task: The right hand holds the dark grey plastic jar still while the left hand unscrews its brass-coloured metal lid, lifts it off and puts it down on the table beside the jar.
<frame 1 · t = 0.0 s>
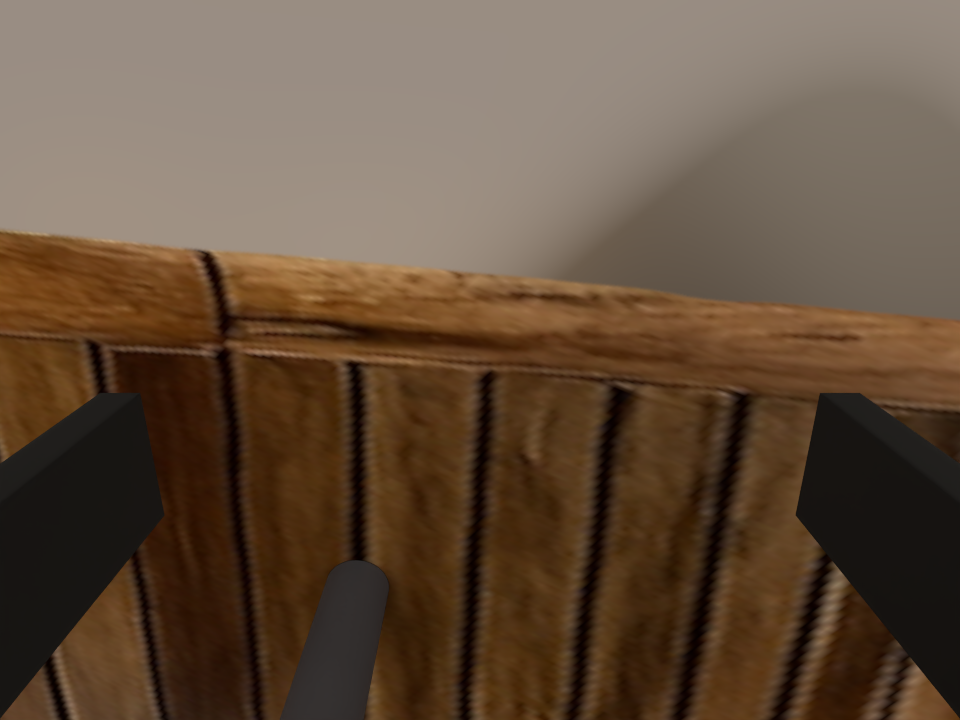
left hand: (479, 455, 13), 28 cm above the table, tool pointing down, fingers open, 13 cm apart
jar: (357, 585, 48), on the table
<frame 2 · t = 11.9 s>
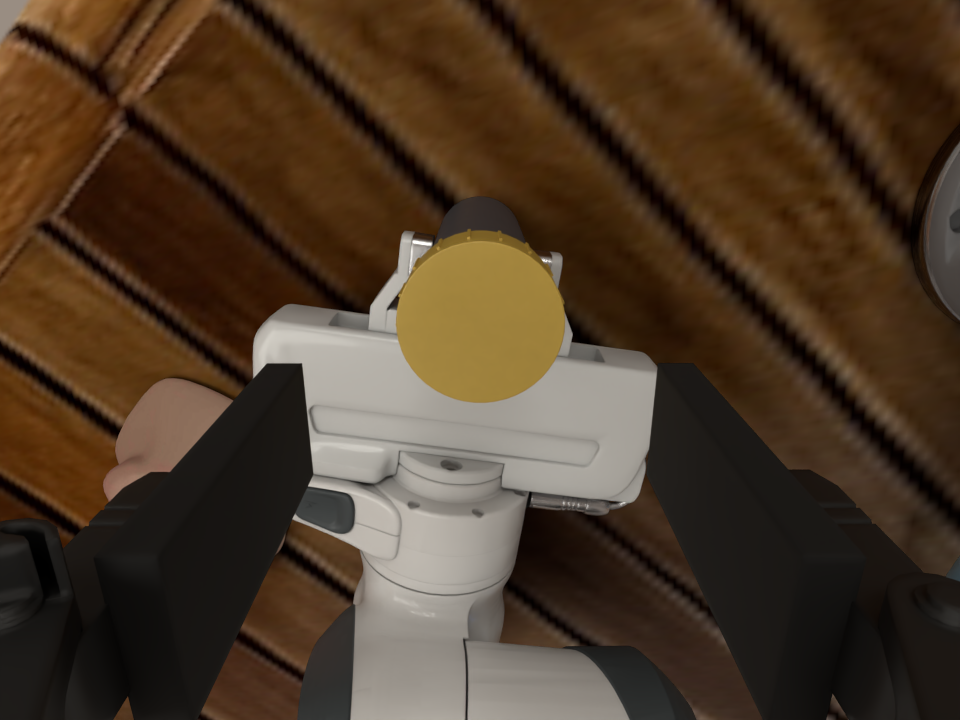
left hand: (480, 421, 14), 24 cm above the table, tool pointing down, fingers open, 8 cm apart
right hand: (482, 243, 30), fingers closed on jar, 5 cm apart
jar: (480, 238, 37), on the table, touching right hand
lid: (480, 322, 21), point 17 cm above the table, screwed on, not yet turned
anatomical model: (207, 475, 42), on the table
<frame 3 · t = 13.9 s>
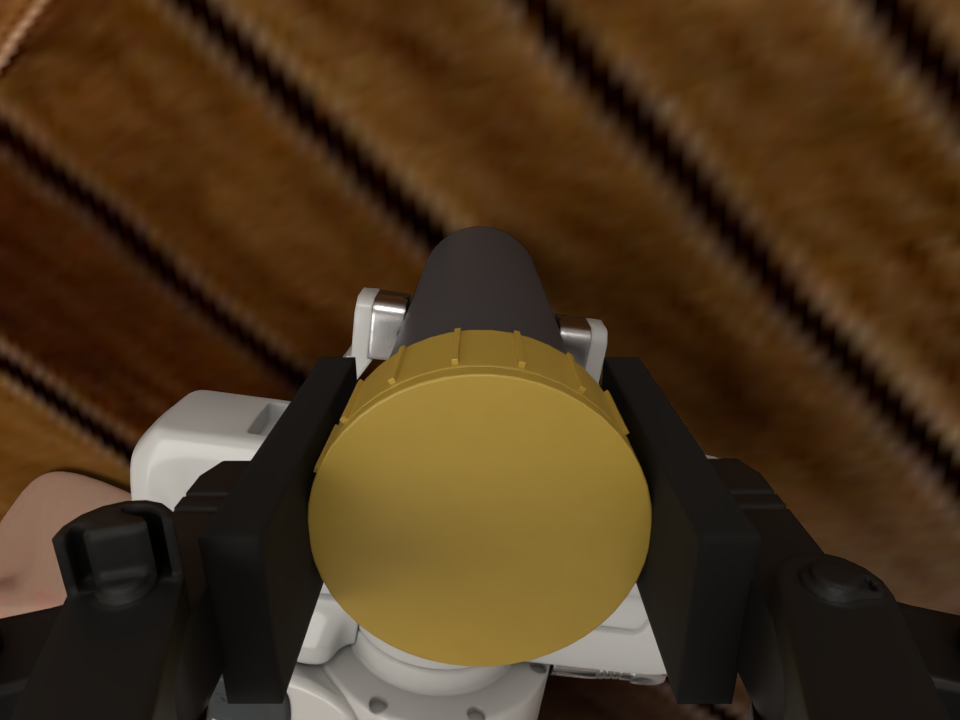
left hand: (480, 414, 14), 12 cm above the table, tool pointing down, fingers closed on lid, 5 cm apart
jar: (479, 284, 26), on the table, touching right hand
lid: (479, 521, 10), point 17 cm above the table, screwed on, not yet turned, touching left hand
anatomical model: (115, 592, 31), on the table
when the left hand's fingers open (13 cm above the table, at t = 15.4 s): lid stays where it is, point 17 cm above the table.
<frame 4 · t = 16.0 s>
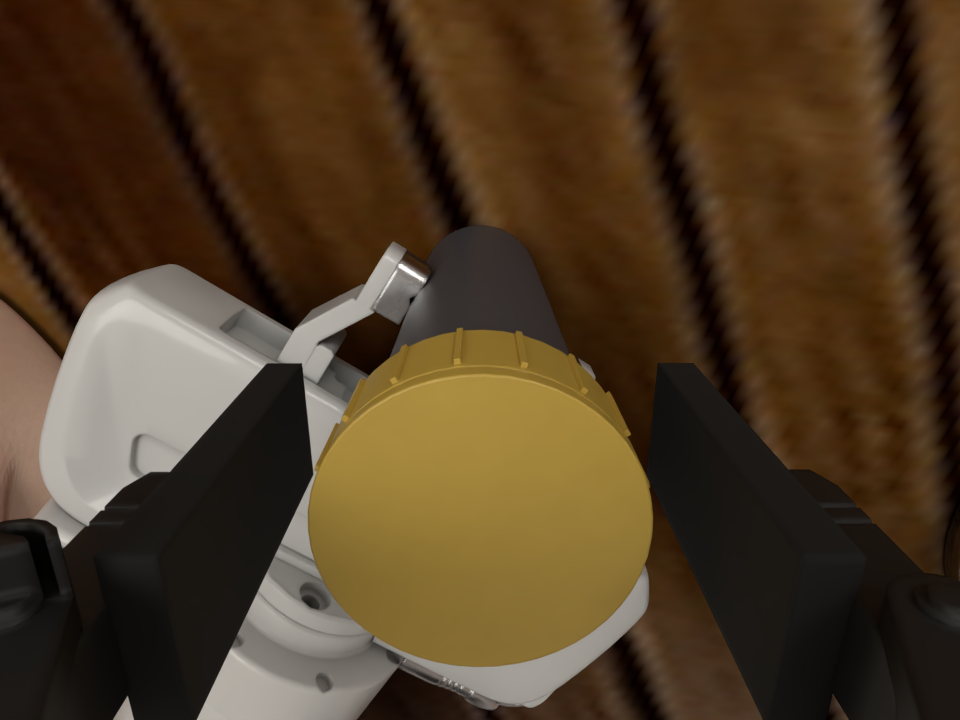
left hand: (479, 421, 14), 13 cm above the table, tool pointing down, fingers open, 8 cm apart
right hand: (494, 308, 20), fingers closed on jar, 5 cm apart
jar: (480, 282, 26), on the table, touching right hand
lid: (480, 522, 10), point 17 cm above the table, turned 88° so far, risen 0.2 cm, still on its thread
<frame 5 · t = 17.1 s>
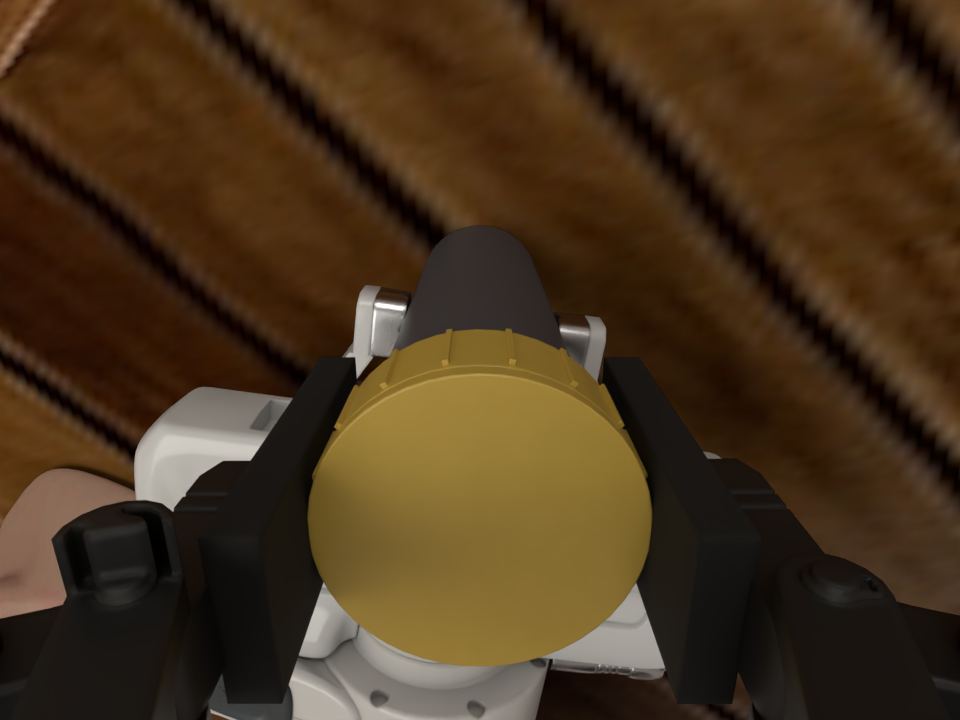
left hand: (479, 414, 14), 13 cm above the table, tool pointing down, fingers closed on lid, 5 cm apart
jar: (479, 282, 26), on the table, touching right hand
lid: (479, 521, 10), point 17 cm above the table, turned 88° so far, risen 0.2 cm, still on its thread, touching left hand
anatomical model: (117, 589, 32), on the table
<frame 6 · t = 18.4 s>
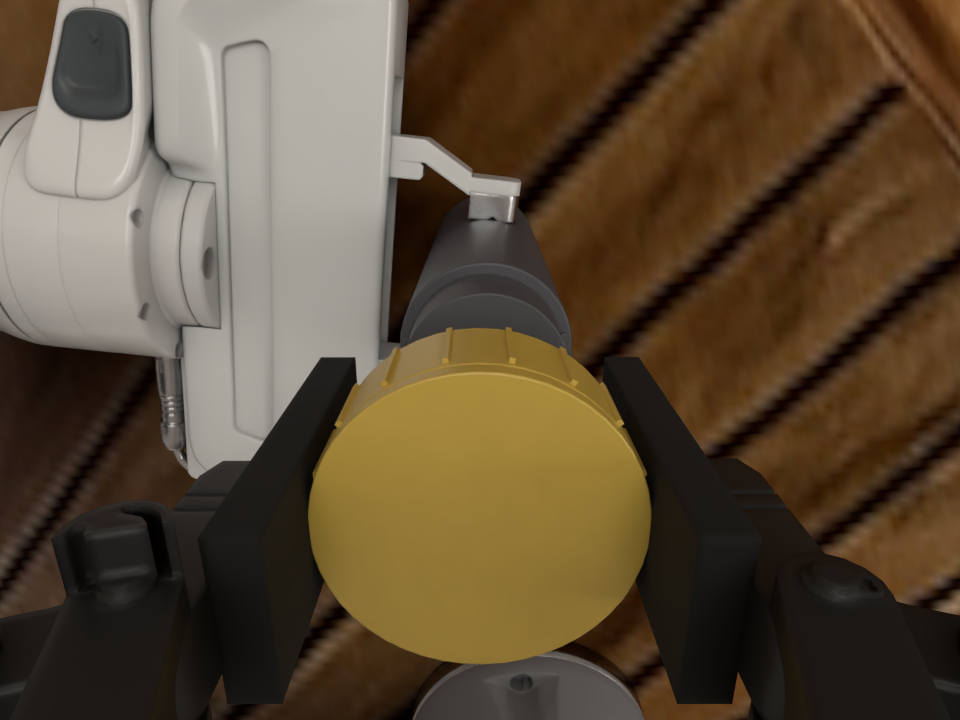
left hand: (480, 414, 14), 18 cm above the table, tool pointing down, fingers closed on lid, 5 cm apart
right hand: (508, 278, 25), fingers closed on jar, 5 cm apart
jar: (484, 244, 31), on the table, touching right hand
lid: (479, 519, 10), point 22 cm above the table, off its thread, touching left hand
when the left hand's fingers open (0 cm above the table, at t = 24.5 s): lid drops 2 cm, point 2 cm above the table.
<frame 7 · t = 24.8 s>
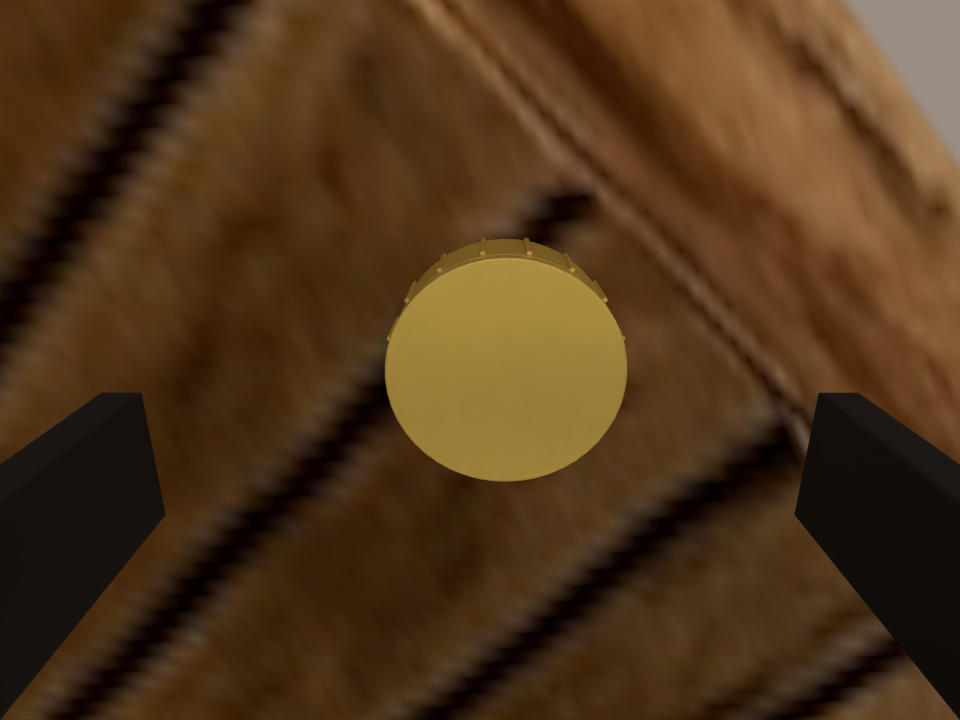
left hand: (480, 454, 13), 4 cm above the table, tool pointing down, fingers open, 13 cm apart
lid: (505, 371, 15), point 2 cm above the table, off its thread
when the right hand's fingers open (7 cm above the table, at t = 25.1 s): jar stays where it is, on the table.
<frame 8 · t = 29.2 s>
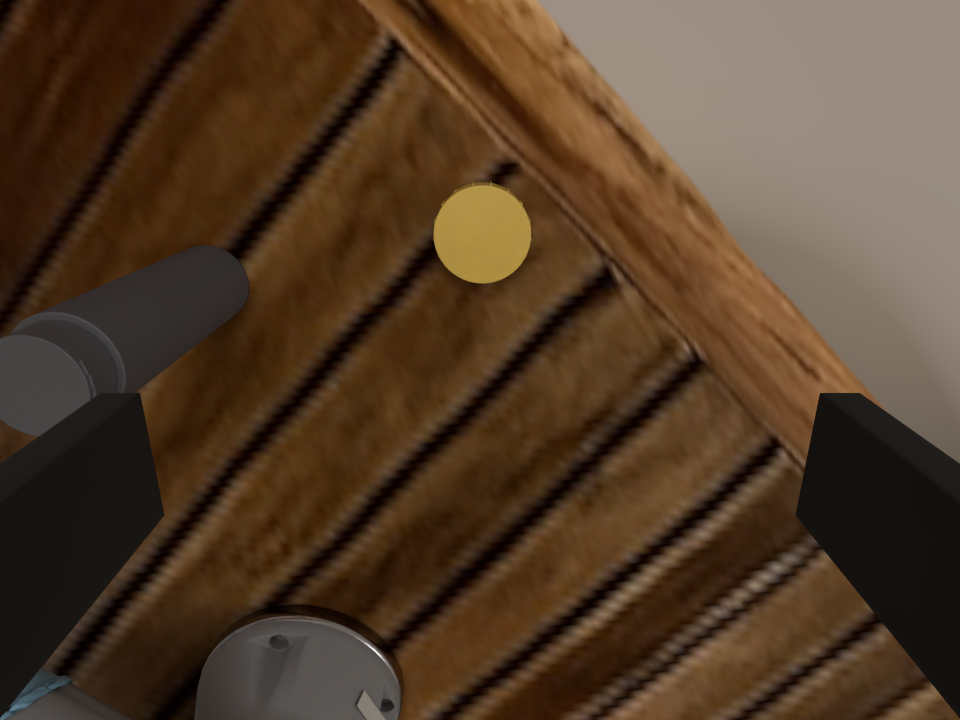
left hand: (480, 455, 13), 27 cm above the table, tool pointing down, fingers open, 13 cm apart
jar: (210, 283, 39), on the table
lid: (482, 234, 36), point 2 cm above the table, off its thread
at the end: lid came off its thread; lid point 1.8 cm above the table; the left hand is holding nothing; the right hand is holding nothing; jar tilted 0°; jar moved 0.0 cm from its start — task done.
